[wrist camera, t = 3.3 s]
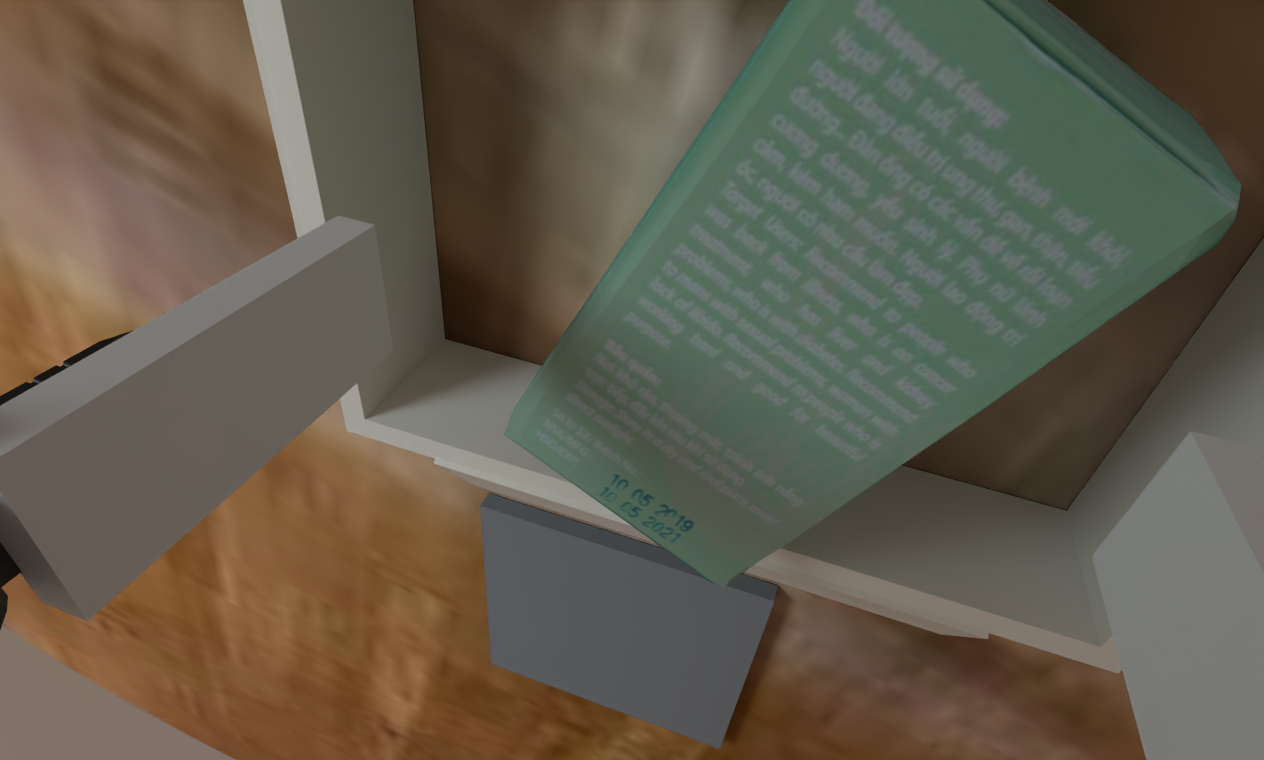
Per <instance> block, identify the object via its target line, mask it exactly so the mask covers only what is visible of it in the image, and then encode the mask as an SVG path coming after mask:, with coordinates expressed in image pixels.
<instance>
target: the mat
mask: <svg viewBox="0 0 1264 760" xmlns="http://www.w3.org/2000/svg"><path fill="white" fill-rule="evenodd" d="M480 507H481V522H482V536H483V551H484V566H485V580H486V595H487V609H488V624H489V639H490V653H491V664H493V665H496V666H499V667H501V668H504V669H507V670H509V671H512V672H515V673H517V674H520V675H523V676H526V677H528V678H531V679H534V680H536V681H539V682H542V683H544V684H547V685H550V686H552V687H555V688H558V689H560V690H563V691H566V692H568V693H571V694H574V695H576V696H579V697H582V698H585V699H587V700H590V701H593V702H595V703H598V704H601V705H603V706H606V707H609V708H611V709H614V710H617V711H619V712H622V713H625V714H627V715H630V716H633V717H635V718H638V719H641V720H644V721H646V722H649V723H652V724H654V725H657V726H660V727H662V728H665V729H668V730H670V731H673V732H676V733H678V734H681V735H684V736H686V737H689V738H692V739H694V740H697V741H700V742H703V743H705V744H708V745H711V746H713V747H716V748H719V749H720V747H721V744H722V741H723V739H724V736H725V733H726V731H727V728H728V725H729V723H730V720H731V717H732V714H733V712H734V709H735V706H736V704H737V701H738V698H739V696H740V693H741V690H742V688H743V685H744V682H745V680H746V677H747V674H748V672H749V669H750V666H751V664H752V661H753V658H754V655H755V653H756V650H757V647H758V645H759V642H760V639H761V637H762V634H763V631H764V629H765V626H766V623H767V621H768V618H769V615H770V613H771V610H772V607H773V605H774V602H775V597H776V591H777V585H774V584H771V583H768V582H765V581H762V580H759V579H755V578H752V577H749V576H746V575H743V574H741V575H739V576H738V577H736V578H735V579H734V580H732V581H731V582H730V583H728V585H727V586H724V587H723V588H722V587H720V586H718V585H715V584H713V583H711V582H709V581H707V580H706V579H705V578H703V577H702V576H701V575H699V574H698V573H696V572H695V571H694V570H692V569H691V568H690V567H688V566H687V565H686V564H684V563H683V562H681V561H680V560H679V559H677V558H676V557H674V556H673V555H672V554H670V553H669V552H667V551H666V550H665V549H662V548H659V547H656V546H652V545H649V544H646V543H643V542H640V541H637V540H634V539H631V538H627V537H624V536H621V535H618V534H615V533H612V532H609V531H606V530H602V529H599V528H596V527H593V526H590V525H587V524H584V523H581V522H578V521H574V520H571V519H568V518H565V517H562V516H559V515H556V514H553V513H549V512H546V511H543V510H540V509H537V508H534V507H531V506H528V505H524V504H521V503H518V502H515V501H512V500H509V499H506V498H503V497H499V496H496V495H493V494H490V493H489V494H488V495H487V497H486V498H485V500H484V501H483V503H482V504H481V506H480Z"/></svg>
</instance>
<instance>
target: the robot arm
mask: <svg viewBox="0 0 1264 760" xmlns="http://www.w3.org/2000/svg"><path fill="white" fill-rule="evenodd" d="M392 352H393V346H392V339H391V332H390V325H389V318H388V311H387V304H386V297H385V290H384V283H383V276H382V270H381V263H380V256H379V249H378V242H377V235H376V228H375V225H373V224H369V223H365V222H362V221H358V220H354V219H350V218H346V217H342V216H337V217H335V218H333V219H331V220H330V221H328V222H326V223H324V224H322V225H321V226H319V227H317V228H315V229H314V230H312V231H310V232H308V233H306V234H305V235H303V236H301V237H299V238H298V239H296V240H294V241H292V242H290V243H289V244H287V245H285V246H283V247H282V248H280V249H278V250H276V251H274V252H273V253H271V254H269V255H267V256H266V257H264V258H262V259H260V260H258V261H257V262H255V263H253V264H251V265H250V266H248V267H246V268H244V269H242V270H241V271H239V272H237V273H235V274H234V275H232V276H230V277H228V278H226V279H225V280H223V281H221V282H219V283H218V284H216V285H214V286H212V287H210V288H209V289H207V290H205V291H203V292H202V293H200V294H198V295H196V296H194V297H193V298H191V299H189V300H187V301H186V302H184V303H182V304H180V305H178V306H177V307H175V308H173V309H171V310H170V311H168V312H166V313H164V314H162V315H161V316H159V317H157V318H155V319H154V320H152V321H150V322H148V323H146V324H145V325H143V326H141V327H139V328H137V329H136V330H133V331H130V332H127V333H124V334H121V335H118V336H115V337H112V338H109V339H106V340H103V341H100V342H98V343H96V344H94V345H92V346H91V347H89V348H87V349H85V350H83V351H81V352H80V353H78V354H76V355H74V356H72V357H71V358H69V359H67V360H65V361H63V363H64V364H63V365H62V366H61V367H59V366H54V367H52V368H51V369H49V370H47V371H45V372H43V373H42V374H40V375H38V376H36V377H34V381H33V382H32V383H27V382H25V383H24V384H22V385H20V386H18V387H16V388H14V389H13V390H11V391H9V392H7V393H5V394H4V395H2V396H0V629H1V626H2V623H3V620H4V617H5V615H6V612H7V600H8V596H7V594H6V593H5V592H4V591H3V589H2V588H1V587H2V586H4V585H5V584H6V583H7V582H9V581H10V580H11V579H13V578H14V577H15V576H17V575H18V574H19V573H21V574H22V575H23V577H24V578H25V580H26V581H27V582H28V584H29V585H30V587H31V588H32V589H33V591H34V592H35V594H36V595H37V596H38V598H39V599H40V600H41V602H44V603H46V604H48V605H51V606H53V607H55V608H58V609H60V610H62V611H65V612H67V613H69V614H72V615H74V616H76V617H79V618H81V619H83V620H86V621H88V620H89V619H90V618H92V617H93V616H94V615H95V614H96V613H97V612H98V611H100V610H101V609H102V608H103V607H104V606H105V605H106V604H107V603H109V602H110V601H111V600H112V599H113V598H114V597H115V596H117V595H118V594H119V593H120V592H121V591H122V590H123V589H124V588H126V587H127V586H128V585H129V584H130V583H131V582H132V581H134V580H135V579H136V578H137V577H138V576H139V575H140V574H141V573H143V572H144V571H145V570H146V569H147V568H148V567H149V566H151V565H152V564H153V563H154V562H155V561H156V560H157V559H158V558H160V557H161V556H162V555H163V554H164V553H165V552H166V551H168V550H169V549H170V548H171V547H172V546H173V545H174V544H175V543H177V542H178V541H179V540H180V539H181V538H182V537H183V536H185V535H186V534H187V533H188V532H189V531H190V530H191V529H192V528H194V527H195V526H196V525H197V524H198V523H199V522H200V521H202V520H203V519H204V518H205V517H206V516H207V515H208V514H209V513H211V512H212V511H213V510H214V509H215V508H216V507H217V506H219V505H220V504H221V503H222V502H223V501H224V500H225V499H226V498H228V497H229V496H230V495H231V494H232V493H233V492H234V491H236V490H237V489H238V488H239V487H240V486H241V485H242V484H243V483H245V482H246V481H247V480H248V479H249V478H250V477H251V476H253V475H254V474H255V473H256V472H257V471H258V470H259V469H260V468H262V467H263V466H264V465H265V464H266V463H267V462H268V461H269V460H271V459H272V458H273V457H274V456H275V455H276V454H277V453H279V452H280V451H281V450H282V449H283V448H284V447H285V446H286V445H288V444H289V443H290V442H291V441H292V440H293V439H294V438H296V437H297V436H298V435H299V434H300V433H301V432H302V431H303V430H305V429H306V428H307V427H308V426H309V425H310V424H311V423H313V422H314V421H315V420H316V419H317V418H318V417H319V416H320V415H322V414H323V413H324V412H325V411H326V410H327V409H328V408H330V407H331V406H332V405H333V404H334V403H335V402H336V401H337V400H339V399H340V398H341V397H342V396H343V395H344V394H345V393H347V392H348V391H349V390H350V389H351V388H352V387H353V386H354V385H356V384H357V383H358V382H359V381H360V380H361V379H362V378H364V377H365V376H366V375H367V374H368V373H369V372H370V371H371V370H373V369H374V368H375V367H376V366H377V365H378V364H379V363H381V362H382V361H383V360H384V359H385V358H386V357H387V356H388V355H390V354H391V353H392ZM1092 559H1093V563H1094V567H1095V570H1096V574H1097V578H1098V582H1099V585H1100V589H1101V593H1102V597H1103V600H1104V604H1105V608H1106V611H1107V615H1108V619H1109V623H1110V626H1111V630H1112V634H1113V638H1114V641H1115V645H1116V649H1117V653H1118V656H1119V660H1120V664H1121V667H1122V671H1123V675H1124V679H1125V682H1126V686H1127V690H1128V694H1129V697H1130V701H1131V705H1132V708H1133V712H1134V716H1135V720H1136V723H1137V727H1138V731H1139V735H1140V738H1141V742H1142V746H1143V750H1144V753H1145V757H1146V760H1264V465H1263V463H1262V462H1261V460H1260V459H1259V457H1258V455H1257V454H1256V452H1255V450H1254V449H1253V447H1252V446H1248V445H1244V444H1240V443H1236V442H1232V441H1228V440H1224V439H1220V438H1216V437H1212V436H1208V435H1204V434H1200V433H1196V432H1192V431H1190V432H1189V434H1188V435H1187V436H1186V437H1185V439H1184V440H1183V441H1182V442H1181V444H1180V445H1179V446H1178V448H1177V449H1176V450H1175V451H1174V453H1173V454H1172V455H1171V456H1170V458H1169V459H1168V460H1167V462H1166V463H1165V464H1164V465H1163V467H1162V468H1161V469H1160V470H1159V472H1158V473H1157V474H1156V475H1155V477H1154V478H1153V479H1152V481H1151V482H1150V483H1149V484H1148V486H1147V487H1146V488H1145V489H1144V491H1143V492H1142V493H1141V494H1140V496H1139V497H1138V498H1137V500H1136V501H1135V502H1134V503H1133V505H1132V506H1131V507H1130V508H1129V510H1128V511H1127V512H1126V514H1125V515H1124V516H1123V517H1122V519H1121V520H1120V521H1119V522H1118V524H1117V525H1116V526H1115V527H1114V529H1113V530H1112V531H1111V533H1110V534H1109V535H1108V536H1107V538H1106V539H1105V540H1104V541H1103V543H1102V544H1101V545H1100V547H1099V548H1098V549H1097V550H1096V552H1095V553H1094V554H1093V555H1092Z"/></svg>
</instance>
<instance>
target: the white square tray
mask: <svg viewBox="0 0 1264 760" xmlns="http://www.w3.org/2000/svg"><path fill="white" fill-rule="evenodd" d="M243 3H244V7H245V11H246V16H247V20H248V24H249V29H250V33H251V37H252V42H253V46H254V50H255V55H256V59H257V63H258V68H259V72H260V76H261V81H262V85H263V89H264V94H265V98H266V102H267V107H268V111H269V115H270V120H271V124H272V128H273V133H274V137H275V141H276V146H277V150H278V154H279V159H280V163H281V168H282V172H283V176H284V181H285V185H286V189H287V194H288V198H289V202H290V207H291V211H292V215H293V220H294V224H295V228H296V233H297V237H298V238H299V237H301V236H303V235H305V234H306V233H308V232H310V231H312V230H314V229H315V228H317V227H319V226H321V225H322V224H324V223H326V222H328V221H330V220H331V219H333V218H335V217H337V216H342V217H346V218H350V219H354V220H358V221H362V222H365V223H369V224H373V225H375V228H376V235H377V242H378V249H379V256H380V263H381V270H382V276H383V283H384V290H385V297H386V304H387V311H388V318H389V325H390V332H391V339H392V346H393V352H392V353H391V354H390V355H388V356H387V357H386V358H385V359H384V360H383V361H382V362H381V363H379V364H378V365H377V366H376V367H375V368H374V369H373V370H371V371H370V372H369V373H368V374H367V375H366V376H365V377H364V378H362V379H361V380H360V381H359V382H358V383H357V384H356V385H354V386H353V387H352V388H351V389H350V390H349V391H348V392H347V393H345V394H344V395H343V396H342V397H341V398H340V401H341V406H342V410H343V415H344V419H345V424H346V428H347V431H349V432H352V433H355V434H358V435H362V436H365V437H368V438H371V439H374V440H377V441H381V442H384V443H387V444H390V445H393V446H397V447H400V448H403V449H406V450H409V451H412V452H416V453H419V454H422V455H425V456H428V457H431V458H435V460H434V463H433V464H435V465H437V466H439V467H441V468H443V469H444V470H446V471H448V472H450V473H452V474H454V475H456V476H457V477H459V478H461V479H463V480H465V481H467V482H468V483H470V484H472V485H475V486H478V487H481V488H484V489H487V490H490V491H493V492H496V493H500V494H503V495H506V496H509V497H512V498H515V499H518V500H521V501H525V502H528V503H531V504H534V505H537V506H540V507H543V508H547V509H550V510H553V511H556V512H559V513H562V514H565V515H568V516H572V517H575V518H578V519H581V520H584V521H587V522H590V523H593V524H597V525H600V526H603V527H606V528H609V529H612V530H615V531H619V532H622V533H625V534H628V535H631V536H634V537H637V538H640V539H644V540H647V541H650V542H653V543H655V542H654V541H652V540H651V539H649V538H648V537H647V536H645V535H644V534H642V533H641V532H640V531H638V530H637V529H635V528H634V527H633V526H631V525H630V524H628V523H627V522H626V521H624V520H623V519H621V518H620V517H619V516H617V515H616V514H614V513H613V512H612V511H610V510H609V509H607V508H606V507H605V506H603V505H602V504H600V503H599V502H598V501H596V500H595V499H593V498H592V497H591V496H589V495H588V494H586V493H585V492H584V491H582V490H581V489H579V488H578V487H577V486H575V485H574V484H572V483H571V482H570V481H568V480H567V479H565V478H564V477H563V476H561V475H560V474H558V473H557V472H556V471H554V470H553V469H551V468H550V467H549V466H547V465H546V464H544V463H543V462H542V461H540V460H539V459H537V458H536V457H535V456H533V455H532V454H530V453H529V452H528V451H526V450H525V449H523V448H522V447H521V446H519V445H518V444H516V443H515V442H514V441H512V440H511V439H509V438H508V437H507V436H505V435H504V432H505V430H506V428H507V426H508V422H509V419H510V416H511V414H512V412H513V410H514V408H515V406H516V405H517V403H518V402H519V400H520V398H521V397H522V395H523V394H524V392H525V391H526V389H527V388H528V386H529V385H530V383H531V382H532V380H533V379H534V377H535V376H536V374H537V373H538V371H539V370H540V368H541V367H542V366H541V365H537V364H534V363H530V362H526V361H523V360H519V359H516V358H512V357H508V356H505V355H501V354H497V353H494V352H490V351H487V350H483V349H479V348H476V347H472V346H469V345H465V344H461V343H458V342H454V341H450V340H447V339H445V333H444V323H443V312H442V301H441V291H440V280H439V270H438V259H437V249H436V238H435V228H434V217H433V206H432V196H431V185H430V175H429V164H428V154H427V143H426V133H425V122H424V111H423V101H422V90H421V80H420V69H419V59H418V48H417V37H416V27H415V16H414V6H413V0H243ZM1190 431H1192V432H1196V433H1200V434H1204V435H1208V436H1212V437H1216V438H1220V439H1224V440H1228V441H1232V442H1236V443H1240V444H1244V445H1248V446H1252V447H1253V449H1254V450H1255V452H1256V454H1257V455H1258V457H1259V459H1260V460H1261V462H1262V463H1263V465H1264V238H1263V240H1262V241H1261V242H1260V244H1259V245H1258V246H1257V248H1256V249H1255V251H1254V252H1253V253H1252V255H1251V256H1250V258H1249V259H1248V260H1247V262H1246V263H1245V264H1244V266H1243V267H1242V269H1241V270H1240V271H1239V273H1238V274H1237V276H1236V277H1235V278H1234V280H1233V281H1232V283H1231V284H1230V285H1229V287H1228V288H1227V289H1226V291H1225V292H1224V294H1223V295H1222V296H1221V298H1220V299H1219V301H1218V302H1217V303H1216V305H1215V306H1214V307H1213V309H1212V310H1211V312H1210V313H1209V314H1208V316H1207V317H1206V319H1205V320H1204V321H1203V323H1202V324H1201V325H1200V327H1199V328H1198V330H1197V331H1196V332H1195V334H1194V335H1193V337H1192V338H1191V339H1190V341H1189V342H1188V344H1187V345H1186V346H1185V348H1184V349H1183V350H1182V352H1181V353H1180V355H1179V356H1178V357H1177V359H1176V360H1175V362H1174V363H1173V364H1172V366H1171V367H1170V368H1169V370H1168V371H1167V373H1166V374H1165V375H1164V377H1163V378H1162V380H1161V381H1160V382H1159V384H1158V385H1157V387H1156V388H1155V389H1154V391H1153V392H1152V393H1151V395H1150V396H1149V398H1148V399H1147V400H1146V402H1145V403H1144V405H1143V406H1142V407H1141V409H1140V410H1139V411H1138V413H1137V414H1136V416H1135V417H1134V418H1133V420H1132V421H1131V423H1130V424H1129V425H1128V427H1127V428H1126V429H1125V431H1124V432H1123V434H1122V435H1121V436H1120V438H1119V439H1118V441H1117V442H1116V443H1115V445H1114V446H1113V448H1112V449H1111V450H1110V452H1109V453H1108V454H1107V456H1106V457H1105V459H1104V460H1103V461H1102V463H1101V464H1100V466H1099V467H1098V468H1097V470H1096V471H1095V472H1094V474H1093V475H1092V477H1091V478H1090V479H1089V481H1088V482H1087V484H1086V485H1085V486H1084V488H1083V489H1082V490H1081V492H1080V493H1079V495H1078V496H1077V497H1076V499H1075V500H1074V502H1073V503H1072V504H1071V506H1070V507H1069V509H1068V510H1067V511H1065V510H1062V509H1058V508H1055V507H1051V506H1047V505H1044V504H1040V503H1036V502H1033V501H1029V500H1026V499H1022V498H1018V497H1015V496H1011V495H1008V494H1004V493H1000V492H997V491H993V490H989V489H986V488H982V487H979V486H975V485H971V484H968V483H964V482H960V481H957V480H953V479H950V478H946V477H942V476H939V475H935V474H932V473H928V472H924V471H921V470H917V469H913V468H910V467H906V466H903V465H901V466H900V467H898V468H897V469H895V470H894V471H892V472H891V473H889V474H888V475H887V476H885V477H884V478H882V479H881V480H879V481H878V482H876V483H875V484H873V485H872V486H871V487H869V488H868V489H866V490H865V491H863V492H862V493H860V494H859V495H858V496H856V497H855V498H853V499H852V500H850V501H849V502H847V503H846V504H845V505H843V506H842V507H840V508H839V509H837V510H836V511H834V512H833V513H831V514H830V515H829V516H827V517H826V518H824V519H823V520H821V521H820V522H818V523H817V524H816V525H814V526H813V527H811V528H810V529H808V530H807V531H805V532H804V533H803V534H801V535H800V536H798V537H797V538H795V539H794V540H792V541H791V542H789V543H788V544H786V545H784V546H783V547H781V548H780V549H778V550H776V551H775V552H773V553H772V554H770V555H768V556H767V557H765V558H763V559H762V560H760V561H759V562H757V563H756V564H754V565H753V566H752V567H750V568H749V569H748V570H746V571H745V572H747V573H750V574H753V575H756V576H759V577H763V578H766V579H769V580H772V581H775V582H778V583H781V584H784V585H788V586H791V587H794V588H797V589H800V590H803V591H806V592H809V593H813V594H816V595H819V596H822V597H825V598H828V599H831V600H835V601H838V602H841V603H844V604H847V605H850V606H853V607H856V608H860V609H863V610H866V611H869V612H872V613H875V614H878V615H881V616H885V617H888V618H891V619H894V620H897V621H900V622H903V623H907V624H910V625H913V626H916V627H919V628H922V629H925V630H928V631H932V632H935V633H938V634H942V635H952V636H962V637H972V638H982V639H988V635H989V633H990V634H993V635H997V636H1000V637H1003V638H1006V639H1009V640H1012V641H1016V642H1019V643H1022V644H1025V645H1028V646H1032V647H1035V648H1038V649H1041V650H1044V651H1047V652H1051V653H1054V654H1057V655H1060V656H1063V657H1066V658H1070V659H1073V660H1076V661H1079V662H1082V663H1085V664H1089V665H1092V666H1095V667H1098V668H1101V669H1105V670H1108V671H1111V672H1114V673H1117V674H1118V673H1119V672H1120V671H1122V667H1121V664H1120V660H1119V656H1118V653H1117V649H1116V645H1115V641H1114V638H1113V634H1112V630H1111V626H1110V623H1109V619H1108V615H1107V611H1106V608H1105V604H1104V600H1103V597H1102V593H1101V589H1100V585H1099V582H1098V578H1097V574H1096V570H1095V567H1094V563H1093V559H1092V555H1093V554H1094V553H1095V552H1096V550H1097V549H1098V548H1099V547H1100V545H1101V544H1102V543H1103V541H1104V540H1105V539H1106V538H1107V536H1108V535H1109V534H1110V533H1111V531H1112V530H1113V529H1114V527H1115V526H1116V525H1117V524H1118V522H1119V521H1120V520H1121V519H1122V517H1123V516H1124V515H1125V514H1126V512H1127V511H1128V510H1129V508H1130V507H1131V506H1132V505H1133V503H1134V502H1135V501H1136V500H1137V498H1138V497H1139V496H1140V494H1141V493H1142V492H1143V491H1144V489H1145V488H1146V487H1147V486H1148V484H1149V483H1150V482H1151V481H1152V479H1153V478H1154V477H1155V475H1156V474H1157V473H1158V472H1159V470H1160V469H1161V468H1162V467H1163V465H1164V464H1165V463H1166V462H1167V460H1168V459H1169V458H1170V456H1171V455H1172V454H1173V453H1174V451H1175V450H1176V449H1177V448H1178V446H1179V445H1180V444H1181V442H1182V441H1183V440H1184V439H1185V437H1186V436H1187V435H1188V434H1189V432H1190Z"/></svg>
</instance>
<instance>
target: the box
mask: <svg viewBox="0 0 1264 760" xmlns="http://www.w3.org/2000/svg"><path fill="white" fill-rule="evenodd" d="M1240 192H1241V183H1240V182H1239V181H1238V179H1237V178H1236V176H1235V175H1234V173H1233V172H1232V171H1231V169H1230V167H1229V166H1228V164H1227V163H1226V161H1225V159H1224V158H1223V156H1222V154H1221V153H1220V151H1219V150H1218V148H1217V146H1216V145H1215V143H1214V142H1213V141H1212V140H1211V139H1210V137H1209V136H1208V135H1207V134H1206V132H1205V131H1204V130H1203V129H1202V127H1201V126H1200V125H1199V124H1198V122H1197V121H1196V120H1195V119H1194V117H1193V116H1192V115H1191V114H1190V113H1189V112H1187V111H1186V110H1184V109H1183V108H1182V107H1180V106H1179V105H1177V104H1176V103H1175V102H1173V101H1172V100H1170V99H1169V98H1168V97H1166V96H1165V95H1164V94H1163V93H1161V92H1160V91H1159V90H1158V89H1156V88H1155V87H1154V86H1153V85H1151V84H1150V83H1149V82H1148V81H1146V80H1145V79H1144V78H1143V77H1141V76H1140V75H1139V74H1138V73H1136V72H1135V71H1134V70H1133V69H1131V68H1130V67H1129V66H1128V65H1127V64H1125V63H1124V62H1123V61H1122V60H1120V59H1119V58H1118V57H1117V56H1115V55H1114V54H1113V53H1112V52H1111V51H1109V50H1108V49H1107V48H1106V47H1104V46H1103V45H1102V44H1101V43H1099V42H1098V41H1097V40H1096V39H1095V38H1093V37H1092V36H1091V35H1090V34H1088V33H1087V32H1086V31H1085V30H1083V29H1082V28H1081V27H1080V26H1079V25H1077V24H1076V23H1075V22H1074V21H1072V20H1071V19H1070V18H1069V17H1067V16H1066V15H1065V14H1064V13H1063V12H1061V11H1060V10H1059V9H1058V8H1056V7H1055V6H1054V5H1053V4H1051V3H1050V2H1049V1H1048V0H789V1H788V3H787V4H786V6H785V7H784V9H783V10H782V12H781V13H780V15H779V16H778V18H777V19H776V21H775V22H774V24H773V25H772V27H771V28H770V30H769V31H768V33H767V34H766V36H765V37H764V39H763V40H762V42H761V43H760V44H759V46H758V47H757V49H756V50H755V52H754V53H753V55H752V56H751V58H750V59H749V61H748V62H747V64H746V65H745V67H744V68H743V70H742V71H741V73H740V74H739V76H738V77H737V79H736V80H735V82H734V83H733V84H732V86H731V87H730V89H729V90H728V92H727V93H726V95H725V96H724V98H723V99H722V101H721V102H720V104H719V105H718V107H717V108H716V110H715V111H714V113H713V114H712V115H711V117H710V118H709V120H708V121H707V123H706V124H705V126H704V127H703V129H702V130H701V132H700V133H699V135H698V136H697V138H696V139H695V141H694V142H693V144H692V145H691V147H690V148H689V149H688V151H687V152H686V154H685V155H684V157H683V158H682V160H681V161H680V163H679V164H678V166H677V167H676V169H675V170H674V172H673V173H672V175H671V176H670V178H669V179H668V181H667V182H666V184H665V185H664V187H663V188H662V190H661V191H660V193H659V194H658V196H657V197H656V199H655V200H654V202H653V203H652V205H651V206H650V208H649V209H648V211H647V212H646V214H645V215H644V216H643V218H642V219H641V221H640V222H639V224H638V225H637V227H636V228H635V230H634V231H633V233H632V234H631V236H630V237H629V239H628V240H627V242H626V243H625V245H624V246H623V248H622V249H621V251H620V252H619V254H618V255H617V257H616V258H615V260H614V261H613V262H612V264H611V265H610V267H609V268H608V270H607V271H606V273H605V274H604V276H603V277H602V279H601V280H600V282H599V283H598V285H597V286H596V288H595V289H594V291H593V292H592V294H591V295H590V297H589V298H588V299H587V301H586V302H585V304H584V305H583V307H582V308H581V310H580V311H579V313H578V314H577V315H576V317H575V318H574V320H573V321H572V323H571V324H570V326H569V327H568V329H567V330H566V332H565V333H564V334H563V336H562V337H561V339H560V340H559V342H558V343H557V345H556V346H555V348H554V349H553V351H552V352H551V354H550V355H549V356H548V358H547V359H546V361H545V362H544V364H543V365H542V367H541V368H540V370H539V371H538V373H537V374H536V376H535V377H534V379H533V380H532V382H531V383H530V385H529V386H528V388H527V389H526V391H525V392H524V394H523V395H522V397H521V398H520V400H519V402H518V403H517V405H516V406H515V408H514V410H513V412H512V414H511V416H510V419H509V422H508V426H507V428H506V430H505V432H504V435H505V436H507V437H508V438H509V439H511V440H512V441H514V442H515V443H516V444H518V445H519V446H521V447H522V448H523V449H525V450H526V451H528V452H529V453H530V454H532V455H533V456H535V457H536V458H537V459H539V460H540V461H542V462H543V463H544V464H546V465H547V466H549V467H550V468H551V469H553V470H554V471H556V472H557V473H558V474H560V475H561V476H563V477H564V478H565V479H567V480H568V481H570V482H571V483H572V484H574V485H575V486H577V487H578V488H579V489H581V490H582V491H584V492H585V493H586V494H588V495H589V496H591V497H592V498H593V499H595V500H596V501H598V502H599V503H600V504H602V505H603V506H605V507H606V508H607V509H609V510H610V511H612V512H613V513H614V514H616V515H617V516H619V517H620V518H621V519H623V520H624V521H626V522H627V523H628V524H630V525H631V526H633V527H634V528H635V529H637V530H638V531H640V532H641V533H642V534H644V535H645V536H647V537H648V538H649V539H651V540H652V541H654V542H655V543H656V544H658V545H659V546H661V547H662V548H663V549H665V550H666V551H667V552H669V553H670V554H672V555H673V556H674V557H676V558H677V559H679V560H680V561H681V562H683V563H684V564H686V565H687V566H688V567H690V568H691V569H692V570H694V571H695V572H696V573H698V574H699V575H701V576H702V577H703V578H705V579H706V580H707V581H709V582H711V583H713V584H715V585H718V586H720V587H722V588H723V587H724V586H727V585H728V583H730V582H731V581H732V580H734V579H735V578H736V577H738V576H739V575H741V574H742V573H743V572H745V571H746V570H748V569H749V568H750V567H752V566H753V565H754V564H756V563H757V562H759V561H760V560H762V559H763V558H765V557H767V556H768V555H770V554H772V553H773V552H775V551H776V550H778V549H780V548H781V547H783V546H784V545H786V544H788V543H789V542H791V541H792V540H794V539H795V538H797V537H798V536H800V535H801V534H803V533H804V532H805V531H807V530H808V529H810V528H811V527H813V526H814V525H816V524H817V523H818V522H820V521H821V520H823V519H824V518H826V517H827V516H829V515H830V514H831V513H833V512H834V511H836V510H837V509H839V508H840V507H842V506H843V505H845V504H846V503H847V502H849V501H850V500H852V499H853V498H855V497H856V496H858V495H859V494H860V493H862V492H863V491H865V490H866V489H868V488H869V487H871V486H872V485H873V484H875V483H876V482H878V481H879V480H881V479H882V478H884V477H885V476H887V475H888V474H889V473H891V472H892V471H894V470H895V469H897V468H898V467H900V466H901V465H902V464H904V463H905V462H907V461H908V460H910V459H911V458H913V457H914V456H916V455H917V454H918V453H920V452H921V451H923V450H924V449H926V448H927V447H929V446H930V445H932V444H933V443H935V442H936V441H937V440H939V439H940V438H942V437H943V436H945V435H946V434H948V433H949V432H951V431H952V430H954V429H955V428H956V427H958V426H959V425H961V424H962V423H964V422H965V421H967V420H968V419H970V418H971V417H973V416H974V415H975V414H977V413H978V412H980V411H981V410H983V409H984V408H986V407H987V406H989V405H990V404H991V403H993V402H994V401H996V400H997V399H999V398H1000V397H1001V396H1003V395H1004V394H1006V393H1007V392H1008V391H1010V390H1011V389H1013V388H1014V387H1016V386H1017V385H1018V384H1020V383H1021V382H1023V381H1024V380H1025V379H1027V378H1028V377H1030V376H1031V375H1033V374H1034V373H1035V372H1037V371H1038V370H1040V369H1041V368H1042V367H1044V366H1045V365H1047V364H1048V363H1049V362H1051V361H1052V360H1054V359H1055V358H1057V357H1058V356H1059V355H1061V354H1062V353H1064V352H1065V351H1066V350H1068V349H1069V348H1071V347H1072V346H1074V345H1075V344H1076V343H1078V342H1079V341H1081V340H1082V339H1083V338H1085V337H1086V336H1088V335H1089V334H1091V333H1092V332H1093V331H1095V330H1096V329H1098V328H1099V327H1100V326H1102V325H1103V324H1105V323H1106V322H1107V321H1109V320H1110V319H1112V318H1113V317H1115V316H1116V315H1117V314H1119V313H1120V312H1122V311H1123V310H1124V309H1126V308H1127V307H1129V306H1130V305H1132V304H1133V303H1134V302H1136V301H1137V300H1139V299H1140V298H1141V297H1143V296H1144V295H1146V294H1147V293H1149V292H1150V291H1151V290H1153V289H1154V288H1156V287H1157V286H1158V285H1160V284H1161V283H1163V282H1164V281H1165V280H1167V279H1168V278H1170V277H1171V276H1173V275H1174V274H1175V273H1177V272H1178V271H1180V270H1181V269H1183V268H1184V267H1186V266H1187V265H1188V264H1190V263H1191V262H1193V261H1194V260H1196V259H1197V258H1199V257H1200V256H1202V255H1203V254H1205V253H1206V252H1207V251H1209V250H1210V249H1212V248H1213V247H1215V246H1216V245H1217V244H1218V243H1219V242H1220V240H1221V239H1222V237H1223V236H1224V235H1225V233H1226V232H1227V231H1228V229H1229V228H1230V227H1231V225H1232V224H1233V223H1234V221H1235V218H1236V215H1237V211H1238V208H1239V201H1240Z"/></svg>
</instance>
